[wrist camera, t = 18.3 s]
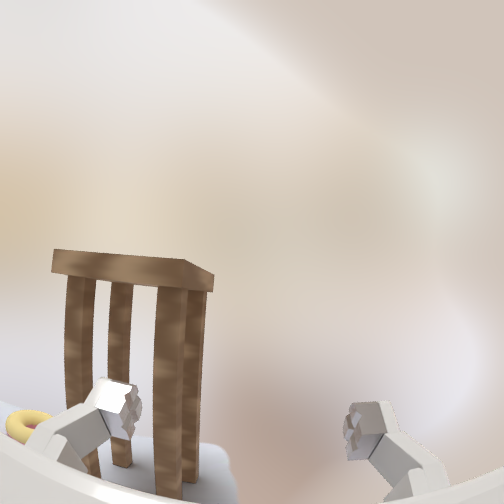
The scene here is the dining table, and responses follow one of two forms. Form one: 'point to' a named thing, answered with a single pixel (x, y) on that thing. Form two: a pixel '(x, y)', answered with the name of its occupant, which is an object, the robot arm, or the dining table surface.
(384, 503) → the robot arm
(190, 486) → the dining table surface
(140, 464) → the dining table surface
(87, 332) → the stool
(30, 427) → the donut
